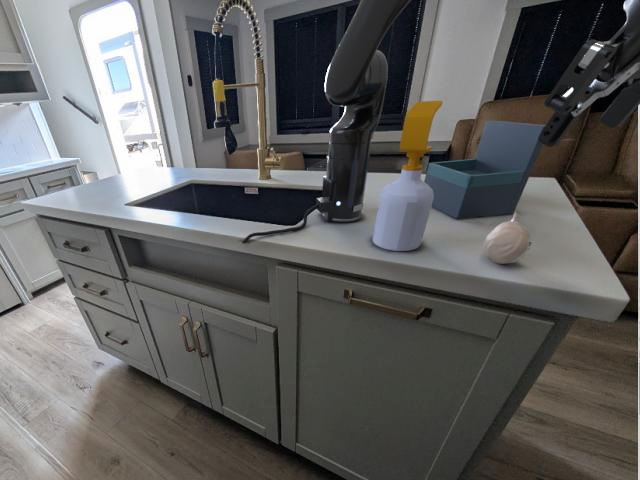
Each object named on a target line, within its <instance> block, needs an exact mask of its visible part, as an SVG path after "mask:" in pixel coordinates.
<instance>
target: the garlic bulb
mask: <svg viewBox="0 0 640 480" xmlns="http://www.w3.org/2000/svg"><path fill="white" fill-rule="evenodd" d="M520 219H522V216H521V215H520V214H519V212H517V211H516V210H515V211H514V213H513V214H512V218H511V220H508V221H507V220H506V221H503V222H501V223H500V224H498V225H497V226H495V228H494V229H492V230H491V231H490V232H489V233H488V234H487V236H486V237H485V239H484V241H483V244H482V245H483V247H482V248H483V253H484V256H486V257H487V258H489V259H490V261H492V262H494V263H495V264H503V265H505V264H513V263H516V262H518V261H520V260H521V259H523V258H524V256H525V255H526V254H527V252H528V251H529V250H530V249H531V246H532V241H530V240H531V239H530V238H531V235H530V231H529V229H527V228H525V227H524V226H523V225H520Z"/></svg>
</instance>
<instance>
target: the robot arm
mask: <svg viewBox="0 0 640 480" xmlns="http://www.w3.org/2000/svg"><path fill="white" fill-rule="evenodd" d="M411 2H412V0H360V1H359V4H358V7H357V8H356V11H355V13H354V15H353V17H352V18H351V21H350V23H349V25H348V27H347V28H346V31H345V33H344V35H343V37H342V38H341V41H340V43H339V45H338V47H337V49H336V51H335V53H334V55H333V56H332V59H331V62H330V63H329V66H328V68H327V72H326V75H325V79H324V80H325V82H324V93H325V97H326V99H327V101H328V103H329V104H330V105H332V106H334V107H344V112H343V114H342V117H341V118H340V119H339V121H338V122H336V123H335V124H334V125H333V126H332V127H331V128H330V130H329V135H328V149H327V160H326V174H325V175H323V177H322V188H321V190H322V191H321V197H316V200H315V205H314V206H311V207H310V208H309V209H307V210H306V211H305V213H304V215H303V222H302V224H301V225H299V226H295V227H287V228H283V229H282V228H281V229H276V230H268V231H258V232H252V233H250V234H248V235H247V236H245V238H244V239H243V241H242V243H241V244H246V243H247V242H248V241H249V240H250V239H252V238H254V237H264V236H270V235H276V234H284V233H289V232H296V231H299V230H303V228H305V227H306V225H307V224H308V217H309V215H310V214H311V212H314V211H316V210H317V211H318V212H319V213H320V215H321V217H322V218H323V219H324V220H325V221H326V222H328V223H329V222H334V223H352V222H356V221H358V220H360V219H361V218H362V215H363V210H364V199H365V191H366V184H367V179H368V177H367V176H368V171H369V165H370V157H371V151H372V144H373V139H374V133H375V131H376V129H377V127H378V125H379V122H380V120H381V115H382V109H383V106H384V100H385V94H386V89H387V84H388V76H389V68H388V67H389V66H388V61H387V58H386V56H385V54H384V53H383V52H382V51H381V50H379V46H380V44H381V43H382V40H383V38H384V37H385V35H386V33H387V31H388V30H389V29H390V27H391V25H392V24H393V23H394V21H395V20H396V19H397V17H398V16H399V15H400V14H401V13H402V12H403V10H404V9H405V8H406V7H407V6H408V4H409V3H411ZM622 6H623V7H622V9H623V11H624V13H625V14H626V20H625V22H624V24H623V25H622V26H621V27H620V29H619V30H618V31H617V32H616V33H615V34H614V35H613V36H612V38H610V39H609V40H607V41H599V40H596V39H589V40H587V41H586V42H585V43H584V44H583V45H582V46H581V48H579V50H578V52H577V53H576V55H575V56H574V57H573V59H572V61H571V62H570V63H569V65H568V67H567V68H566V70H565V71H564V73H563V74H562V76H561V77H560V78H559V80H558V81H557V83H556V84H555V86H554V87H553V89H552V90H551V92H550V94H548V96H547V97H546V99H545V101H544V103H543V106H545V107H547V108H549V109H551V110H552V111H554V112H553V114H552V115H551V117H550V119H549V120H548V122H547V123H546V124H545V125H546V126H545V127H544V129H543V130H542V132H541V133H540V135H539V137H538V140H539V142H541V143H543V146H546V147H548V148H552V147H555V146H557V145H559V144H560V143H561V142H562V140H563V139H564V137H565V136H566V135H567V133H568V132H569V131H570V129H571V128H572V127H573V126H574V124H575V123H576V122H577V120H578V119H579V117H580V116H581V113H583V112H584V111H585V110H586V109H587V108H589V106H591V105H592V104H593V103H594V102H596V100H598V99H600V98H605V97H607V96H609V95H610V94H611V93H613V92H614V91H615V90H616V89H617V88H619V87H620V86H621V85H622V84H624V83H627V87H624V88H623V89H622V90H621V91H620V93H619V94H618V95H617V96H616V97H615V98H614V100H612V103H611V104H610V105H609V106H608V107H607V108H606V110H605V111H604V112H603V113H602V115H601V116H600V117H599V122H600V123H601V124H602V125H604V126H606V127H608V128H611V129H614V128H617V127H620V126H622V125H623V124H624V123H625V122H626V120H628V118H629V117H630V116H631V115H632V114H633V113H634V111H635V110H636V109H637V108H638V107H639V106H640V0H624V2H623V5H622ZM598 76H599V79H601V80H603V81H600V80H598V79H597V78H598ZM568 87H570V88H569V89H567V88H568ZM566 90H567V91H566ZM565 91H566V92H565ZM587 91H588V92H589V93H588V94H587V95H586V96H585V97H583V96H584V95H585V94H586V92H587Z"/></svg>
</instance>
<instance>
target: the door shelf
mask: <svg viewBox="0 0 640 480" xmlns="http://www.w3.org/2000/svg"><path fill="white" fill-rule="evenodd" d="M545 126H546V124H540V123H539V124H537V123H528V122H527V123H525V122H516V121H515V122H514V121H505V120H486V121H485V125H484V128H483V131H482V134H481V137H480V140H479V144H478V147H477V150H476V153H475V156H474V158H470V159H469V158H468V159H458V160H447V161H437V162H436V161H435V162H428V165H427V168H426V171H425V177H424V180H423V182H425V183H426V184H428V185H429V186H430V188H431V189H432V190H433V195H434V199H433V202H432V206H431V208H434V209H436V210H438V211H440V212H442V213H444V214H446V215H448V216H450V217H452V218H454V219H456V220H462V219H472V218H481V217H492V216H503V215H514V213H515V211H516V209H517V207H518V204H519V202H520V200H521V197H522V195H523V192H524V191H525V188H526V186H527V183H528V181H529V179H530V176H531V174H532V172H533V169H534V167H535V165H536V162H537V160H538V158H539V156H540V153H541V151H542V148H543V147H544V144H543V143H541V142H539V140H538V137H539V135H540V133H541V132H542V130H543V129H544V127H545Z"/></svg>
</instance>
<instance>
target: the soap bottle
mask: <svg viewBox="0 0 640 480" xmlns="http://www.w3.org/2000/svg"><path fill="white" fill-rule="evenodd" d="M442 106H443V100H424V101H423V100H422V101H417V102H415V103H414V104H413V105H412V106H411V107H410V109H408V110H407V113H406V114H405V118H404V122H403V127H402V132H401V137H400V143H399V149H398V150H399V152H401V153H406V157H407V158H408V162H407V164H402V167H401V172H400V176H399V178H398V179H397V180H394V181H392V182H390V183H388V184H387V185H386V186H385V187H383V188H382V190H381V192H380V195H379V200H378V207H377V212H376V218H375V223H374V229H373V234H372V242H373V244H374V245H376V246H377V247H379V248H381V249H383V250H387V251H393V252H408V251H414V250H416V249H418V248H419V247H420V246H421V245H422V242H423V239H424V235H425V232H426V227H427V224H428V220H429V217H430V213H431V210H432V202H433V199H434V195H433V190H432V189H431V188H430V186H429V185H428V184H426V183H425V182H424V180H422V178H421V177H422V173H423V168H424V165H423V164H420V159H421V158H423V157H425V154H426V153H428V152H430V151H432V150H433V146H430V145H427V144H428V141H429V135H430V132H431V128H432V123H433V120H434V117H435V115H436V113H437V112H438V111H439V109H440V108H441V107H442Z"/></svg>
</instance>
